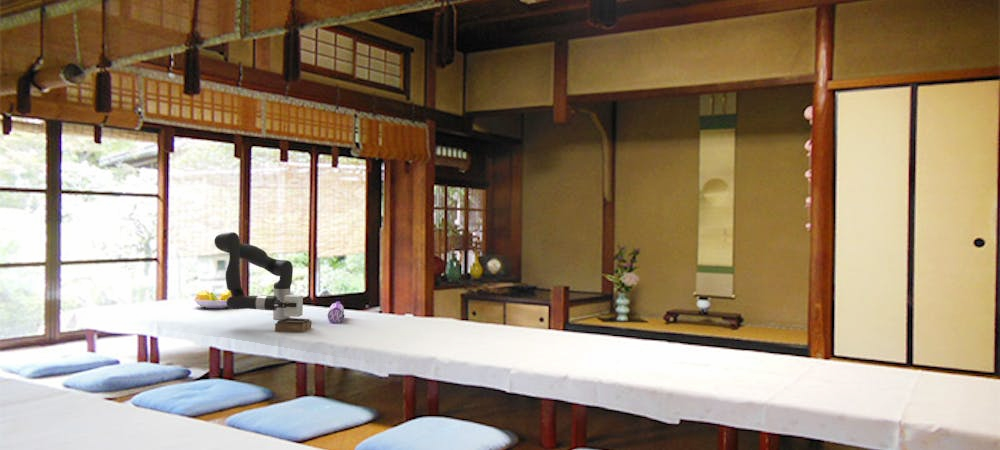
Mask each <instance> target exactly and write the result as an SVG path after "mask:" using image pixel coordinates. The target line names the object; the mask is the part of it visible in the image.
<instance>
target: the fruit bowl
mask: <svg viewBox="0 0 1000 450" xmlns="http://www.w3.org/2000/svg"><path fill="white" fill-rule="evenodd" d="M230 296H232V295H231V291H230V290H228V289H227V290H224V291H223V292H222V293H221V294H220V295H216V294H214V293H213V291H211V292H209V291H207V290H201V291H199V292H198V293H197V294H196V296H195V297H194V298H193V300H194V301H195V303H196V304H197V305H198V306H200V307H202V308H204V307H206V308H205V309H211V308H221V309H226V308H225V307H228V306H227V303H226V301H227V299H228V298H229V297H230ZM228 308H229V307H228Z"/></svg>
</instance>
